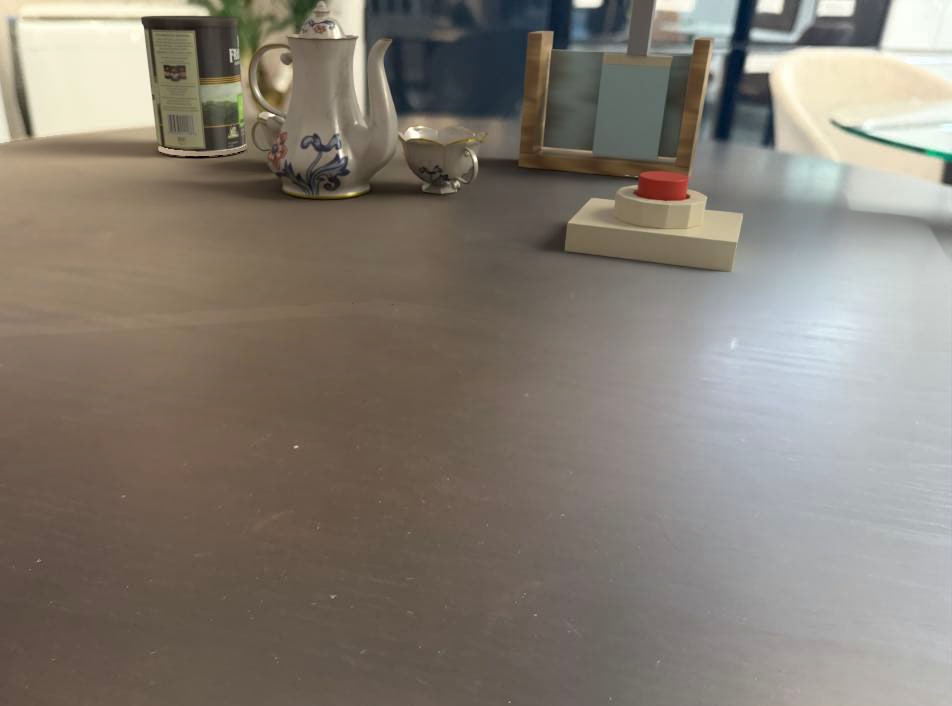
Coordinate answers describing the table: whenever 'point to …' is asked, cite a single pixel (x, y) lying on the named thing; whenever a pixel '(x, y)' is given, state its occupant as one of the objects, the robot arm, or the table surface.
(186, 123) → the coffee can
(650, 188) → the button
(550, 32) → the window frame
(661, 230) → the button box
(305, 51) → the chinaware
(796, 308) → the table surface
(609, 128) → the blue-grey flat panel
